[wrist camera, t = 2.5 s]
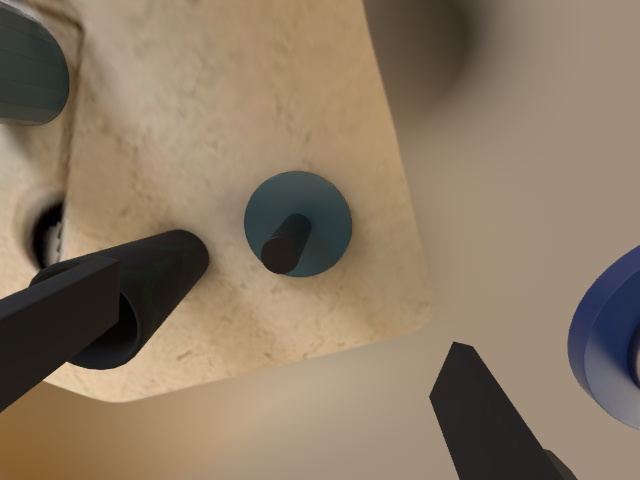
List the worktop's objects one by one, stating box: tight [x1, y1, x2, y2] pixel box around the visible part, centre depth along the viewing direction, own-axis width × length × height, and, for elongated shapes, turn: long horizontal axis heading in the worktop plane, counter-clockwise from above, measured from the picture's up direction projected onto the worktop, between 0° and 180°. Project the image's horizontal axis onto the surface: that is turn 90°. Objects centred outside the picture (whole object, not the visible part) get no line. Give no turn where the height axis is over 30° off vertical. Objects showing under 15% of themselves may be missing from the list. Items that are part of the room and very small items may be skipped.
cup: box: [29, 230, 209, 370], centre depth 24 cm, size 8×8×12 cm
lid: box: [244, 171, 352, 277], centre depth 24 cm, size 10×10×9 cm
